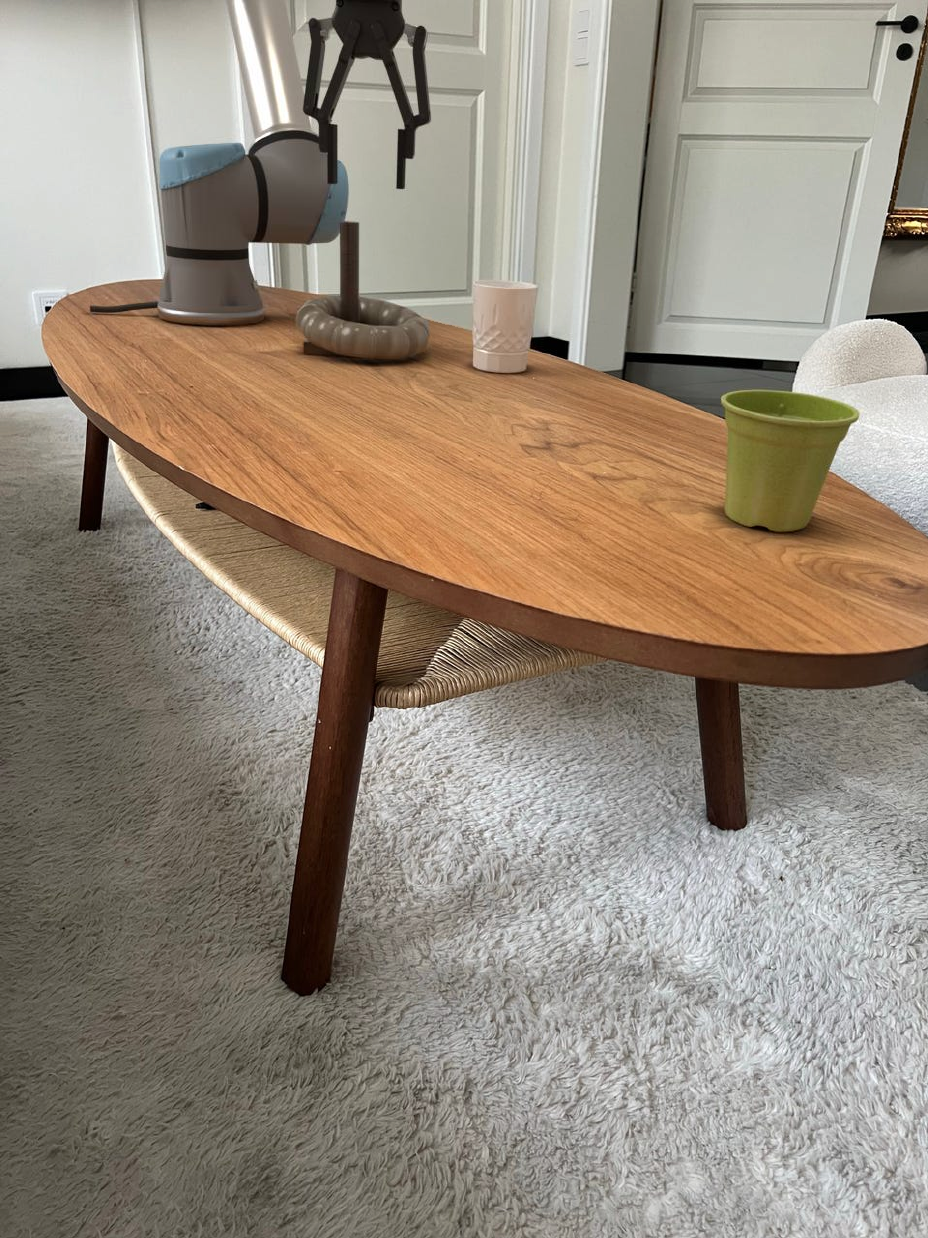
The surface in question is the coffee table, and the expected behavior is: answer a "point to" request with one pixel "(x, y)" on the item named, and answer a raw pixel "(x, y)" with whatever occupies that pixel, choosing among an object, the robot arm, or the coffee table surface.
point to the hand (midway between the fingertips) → (366, 185)
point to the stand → (345, 282)
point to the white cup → (502, 324)
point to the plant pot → (780, 454)
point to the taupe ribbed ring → (364, 329)
